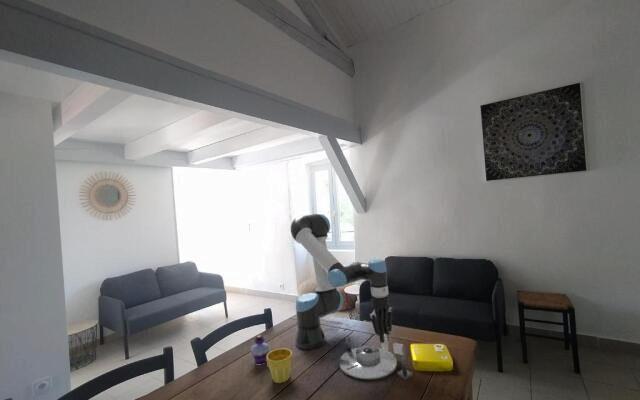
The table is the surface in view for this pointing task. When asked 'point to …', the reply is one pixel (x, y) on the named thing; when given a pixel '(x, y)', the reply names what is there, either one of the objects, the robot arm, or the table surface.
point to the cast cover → (368, 356)
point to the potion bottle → (260, 350)
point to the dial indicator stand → (401, 350)
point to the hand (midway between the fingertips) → (385, 349)
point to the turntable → (368, 373)
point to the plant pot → (280, 364)
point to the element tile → (431, 357)
